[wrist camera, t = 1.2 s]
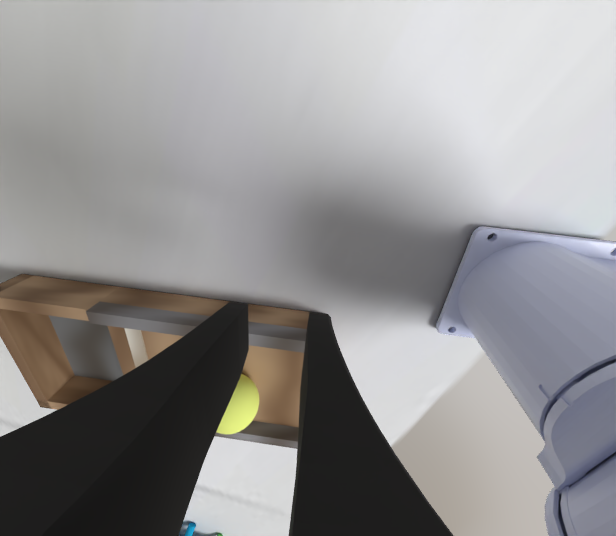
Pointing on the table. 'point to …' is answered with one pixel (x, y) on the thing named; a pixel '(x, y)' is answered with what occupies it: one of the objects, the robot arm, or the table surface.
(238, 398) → the ball
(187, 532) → the gear
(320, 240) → the table surface
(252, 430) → the wooden tray
